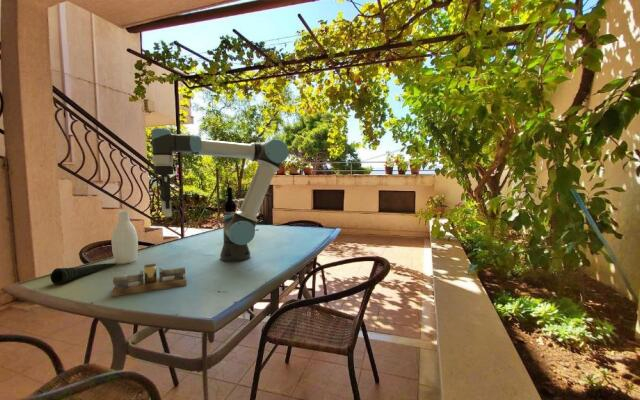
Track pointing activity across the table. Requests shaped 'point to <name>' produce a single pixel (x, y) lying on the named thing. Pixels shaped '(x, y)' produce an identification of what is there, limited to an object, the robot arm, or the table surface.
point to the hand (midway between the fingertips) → (166, 214)
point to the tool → (75, 272)
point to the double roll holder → (137, 283)
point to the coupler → (150, 273)
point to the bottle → (124, 240)
